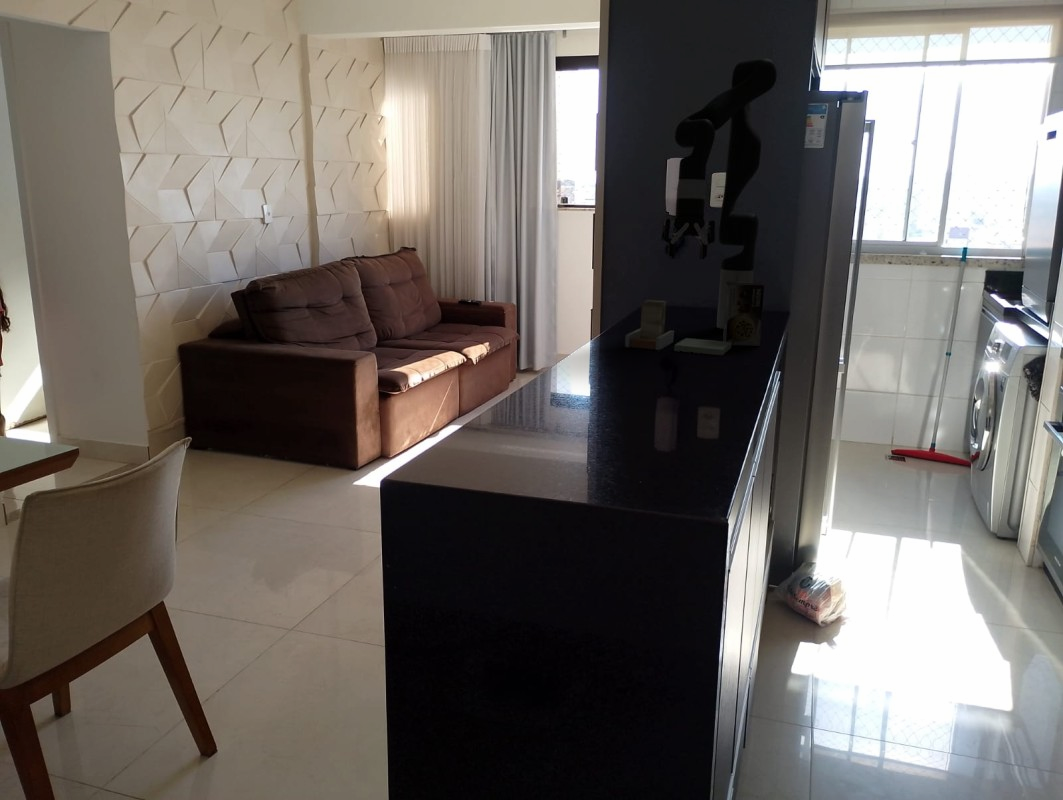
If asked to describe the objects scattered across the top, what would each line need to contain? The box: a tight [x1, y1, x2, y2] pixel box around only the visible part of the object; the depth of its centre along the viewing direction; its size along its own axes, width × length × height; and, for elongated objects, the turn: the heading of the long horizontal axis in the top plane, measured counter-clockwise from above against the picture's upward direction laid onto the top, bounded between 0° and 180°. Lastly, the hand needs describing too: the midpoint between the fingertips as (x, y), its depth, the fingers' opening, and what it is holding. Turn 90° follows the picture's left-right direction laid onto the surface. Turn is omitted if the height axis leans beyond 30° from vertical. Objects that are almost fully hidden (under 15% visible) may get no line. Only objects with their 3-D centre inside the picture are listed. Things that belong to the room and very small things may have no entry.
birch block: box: [640, 299, 667, 340], centre depth 225 cm, size 5×5×11 cm
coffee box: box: [722, 281, 765, 347], centre depth 227 cm, size 9×6×16 cm
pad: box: [673, 337, 733, 356], centre depth 219 cm, size 12×12×2 cm
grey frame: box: [624, 327, 675, 351], centre depth 224 cm, size 14×9×3 cm, turn 157°
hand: (686, 258), depth 235 cm, fingers open, 8 cm apart
